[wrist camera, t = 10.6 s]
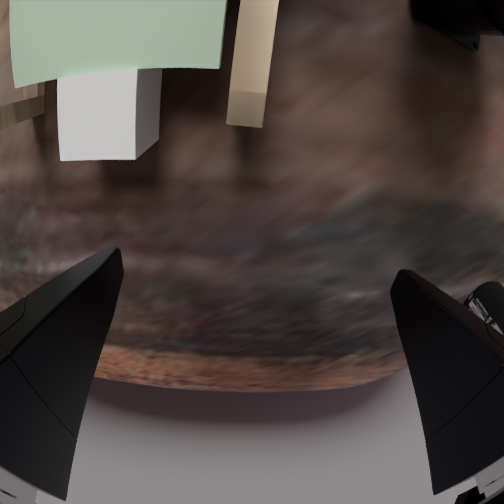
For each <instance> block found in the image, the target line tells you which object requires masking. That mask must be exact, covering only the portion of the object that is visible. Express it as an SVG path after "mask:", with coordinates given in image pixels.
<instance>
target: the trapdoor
mask: <svg viewBox="0 0 504 504" xmlns="http://www.w3.org/2000/svg"><path fill="white" fill-rule="evenodd" d="M227 3H228V0H10V45H11V58H12V68H13V77H14V84H15V88H19V87H23V86H27V85H31V84H35V83H39V82H44V81H49V80H54V79H58V78H64V77H69V76H75V75H82V74H89V73H97V72H105V71H115V70H127V69H147V68H210V69H219V68H220V66H221V58H222V48H223V38H224V29H225V20H226V11H227Z"/></svg>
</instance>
